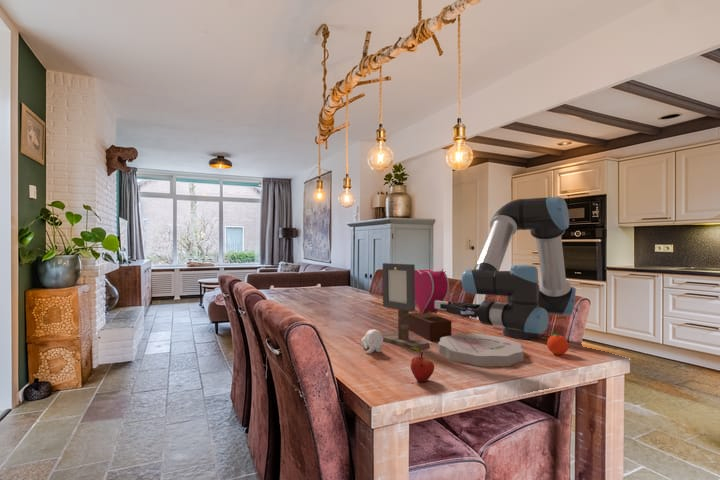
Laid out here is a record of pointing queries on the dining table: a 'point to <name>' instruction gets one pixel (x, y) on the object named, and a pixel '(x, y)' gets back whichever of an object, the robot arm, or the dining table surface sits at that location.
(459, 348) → the decorative plaque
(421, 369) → the apple
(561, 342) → the clementine
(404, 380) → the dining table surface
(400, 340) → the display stand
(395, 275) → the picture frame
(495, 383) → the dining table surface
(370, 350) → the white animal figurine
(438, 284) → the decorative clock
